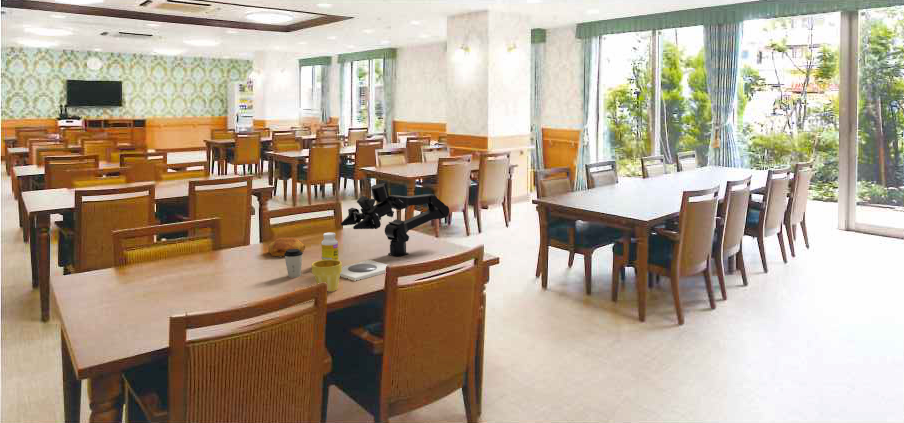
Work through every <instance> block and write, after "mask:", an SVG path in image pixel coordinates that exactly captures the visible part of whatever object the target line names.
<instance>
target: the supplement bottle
mask: <svg viewBox="0 0 904 423" xmlns="http://www.w3.org/2000/svg"><path fill="white" fill-rule="evenodd" d="M322 235H323V240H322V241H321V242H320V244H321V260H339V261H340V259H339V257H340V256H339V241H338V239H336V233H335V232H324V233H323V234H322Z"/></svg>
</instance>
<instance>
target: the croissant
mask: <svg viewBox="0 0 904 423" xmlns="http://www.w3.org/2000/svg"><path fill="white" fill-rule="evenodd" d="M289 249H299V250H300V251H301V252H302V253H303V252H304V251H305V250H306V245H305V243H303V242H301V241H300V240H299V239H298V238H295V237H288V236H287V237H277V238H276V239H275V240H274V241H273V242H270V243H269V245H268V249H267V250H268V254H270V253H271V254H270V255H271V257H275V256H284V254H285V253H286V250H289Z"/></svg>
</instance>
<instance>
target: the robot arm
mask: <svg viewBox="0 0 904 423" xmlns="http://www.w3.org/2000/svg"><path fill="white" fill-rule="evenodd" d="M370 190H371V194H372V197H373V198H369V197H368V196H364V195H361V196H360V197H359V198H358V199H357V201H356V203H357V204H358V205H359V206H360V210H359V208H356V207H350V208H349V209H347V210H348V215H347V217H345V219H343V221H342V222H340V226H343V227H344V226H353V227H352V229H354V230H374V229H375V230H378V229H379V228H380V227H381V225H382V224H381V220H382V218H383V217H384V216H386V217H389V218H393V217H394V214H395V211H394V210H399V211H401V210H404V209H407V208H408V207H411V206H417V205H426V206H427V210H426V211H423V212H422V213H419V214H417V215H415V216H412V217H410V218H407V219H406V220H402V219H397V218H396V219H394V220H393V221H388V223H387V224H386V225H385V227H384V233H385V236H386V237H387V240H388V241H390V242H389V252H388V255H390V256H394V257H401V256H406V255H409V254H410V253H409V252H407V242H408V241H409V239H410V235H408V232H409V231H411V230H413V229H415V228H418V227H420V226H422V225H424V224H426V223H428V222H431V221H433V220H441V219H446V218H448V216H449V215H450V208H449V206H448V205H447V204H445V203H444V202H443V201H442V200H440V199H439V198H438V197H437V196H436V195H435V194H433V193H425V194H418V195H417V194H416V195H408V196H405V195H397V194H396V195H395V194H389V191H388V190H389V189H388V184H387V183H385V182H383V183H377V184H373V185H372V186H371V187H370ZM376 202H377V203H376Z"/></svg>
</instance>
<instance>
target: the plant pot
mask: <svg viewBox="0 0 904 423" xmlns="http://www.w3.org/2000/svg"><path fill="white" fill-rule="evenodd" d="M342 267H343V264H342V261H341V260H340V259H339V260H322V259H320V260H317V261H314V262H312V263H311V273H312V275H313V276H314V278H315V282H316V285H317V284H318V283H321V282H326V283H327V284H328V291H333V292H335V290H336V291H337V290H338V289H339V283H340V282H339V281H340V278H341V277H340V273H341V272H342Z"/></svg>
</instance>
